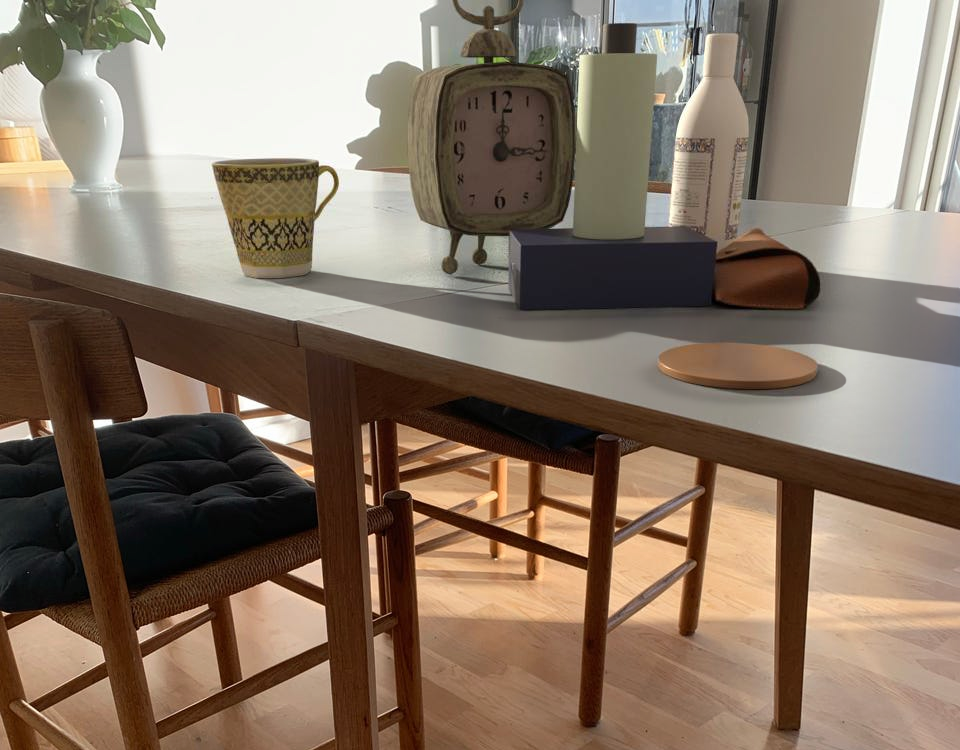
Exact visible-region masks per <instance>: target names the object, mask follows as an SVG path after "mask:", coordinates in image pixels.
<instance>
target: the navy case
mask: <svg viewBox="0 0 960 750" xmlns="http://www.w3.org/2000/svg"><path fill="white" fill-rule="evenodd" d="M717 243H718V242H717V241H715V240H713V239H711V238H709V237H707V236H705V235H703V234H701V233H699V232H696V231H694V230H692V229H690V228H688V227H686V226H671V227H668V226H645V230H644V236H642V237H640V238H634V239H623V240H597V239H585V238H579V237H576V236H574V235H573V227H564V228H549V229H509V236H508V279H507V280H508V282H507V283H508V290H509V292H510V294H511V296H512V298H513V300H514V301H515V303H516V305H517V307H518V309H519V311H544V310H545V311H546V310H589V309H590V310H591V309H631V308H632V309H633V308H637V309H638V308H639V309H640V308H675V307H676V308H678V307H679V308H681V307H710V306H711V305H712V298H713V297H712V288H713V279H714V270H715V261H716V252H717Z"/></svg>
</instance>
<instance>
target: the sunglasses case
mask: <svg viewBox="0 0 960 750" xmlns="http://www.w3.org/2000/svg"><path fill="white" fill-rule="evenodd" d="M821 285H822V282H821V278H820V274H819V271H818V270H817V268H816V266H815V265H814V263H813V262H812V261H811V260H810V259H809V258H808V257H807V256H806V255H804V254H802V253H801V252H799V251H797V250H793V249H791V248H789V247H788V246H786V245H785V244H783V243H781V242H780V241H778V240H776V239H774V238H772V237H770V236H768V235H767V234H766V233H764V231H763V230H762V229H761V228H758V227H757V228H753V229H750V230H749V231H747V232H744V233H743V234H742V235H740V236H739V237H737V238H736V240H735V241H733V242H732V243H731V244H729V245H728V246H727V247H725V248H723V249H721V250H720V251H718V252H716V261H715V270H714V279H713V288H712V298H713V300H715V302H718V303H722V304H725V305H728V306H736V307H742V308H748V309H757V310H759V309H760V310H804V309H805V308H807V307H809V306H811V305H812V304H813V303H814V302H815V301H816V300H817V298H819V296H820V293H821Z"/></svg>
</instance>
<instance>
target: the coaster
mask: <svg viewBox="0 0 960 750" xmlns="http://www.w3.org/2000/svg"><path fill="white" fill-rule="evenodd" d="M657 367H658V369H659V371H660V372H662V373H663V374H665V375H666V376H669V377H670V378H673V379H675V380H679V381H682V382H686V383H689V384H690V383H691V384H695V385H700V386H705V387H713V388H720V389H721V388H723V389H732V390H771V389H783V388H789V387H794V386H795V387H796V386H799V385H802V384H806V383H808V382H810V381H812V380H814V379H815V378H816V377H817V374H818V370H819V363H818V362H817V361H816V360H815V359H814V358H812V357H811V356H808V355H806V354H804V353H801V352H799V351H795V350H791V349H787V348H782V347H778V346H771V345H766V344H765V345H764V344H758V343H757V344H755V343H745V342H705V343H704V342H702V343H693V344H685V345H680V346H676V347H672V348H669V349H667V350H665V351H663V352H662V353H660V354H659V356H658V360H657Z"/></svg>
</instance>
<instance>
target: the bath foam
mask: <svg viewBox="0 0 960 750" xmlns="http://www.w3.org/2000/svg"><path fill="white" fill-rule="evenodd" d="M738 42H739V34H738V33H733V32H731V33H729V32H728V33H727V32H725V33H708V34H706V37H705V44H704V45H705V46H704V57H703V67H702V78H701V80H700V82H699V84H698V85H697V87H696V88H695V90H694V91H693V93H692V94H691V96H690V98H689V99H688V101H687V103H686V104H685V106H684V108H683V110H682V113H681V115H680V117H679V121H678V123H677V129H676V135H675V141H674V153H673V163H672V164H673V165H672V176H671V188H670V200H669V210H668V211H669V212H668V224H667V227H671V226H686V227H688V228H690V229H692V230H694V231H696V232H699V233H701V234H703V235H705V236H707V237H709V238H711V239H713V240H715V241H717V242H718V243H717V252H718V251H720V250H721V249H723V248H725V247H727V246H728V245H729V244H731V243H732V242H733V241H735V240H736V239H737V238H738V231H739V230H738V229H739V222H740V215H741V214H740V213H741V206H742V196H743V188H744V180H745V173H746V164H747V163H746V162H747V156H748V146H749V134H750V124H749V116H748V115H749V114H748V111H747V106H746V105H745V101H744V98H743V97H742V94H741V92H740V90H739V88H738V85H737V84H736V81H735V78H734V76H735V70H736V61H737V52H738Z"/></svg>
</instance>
